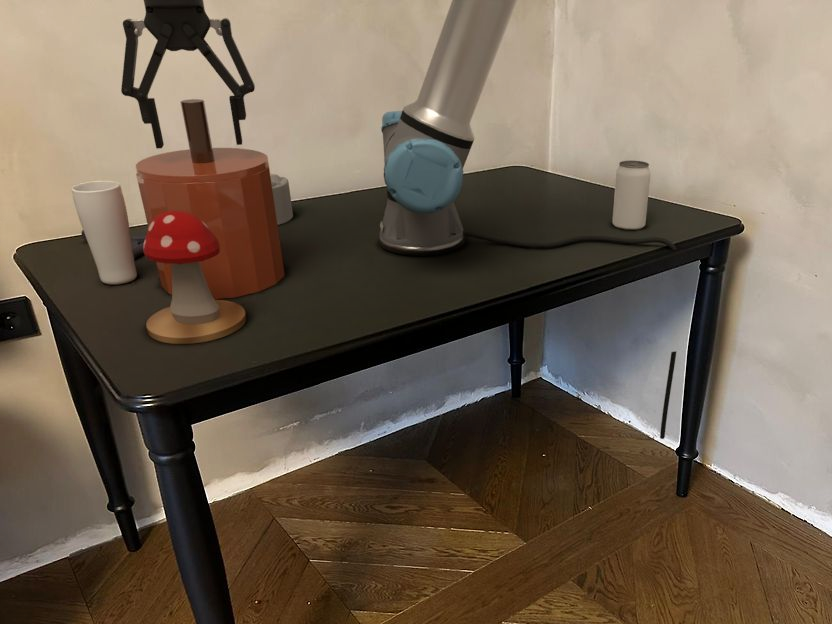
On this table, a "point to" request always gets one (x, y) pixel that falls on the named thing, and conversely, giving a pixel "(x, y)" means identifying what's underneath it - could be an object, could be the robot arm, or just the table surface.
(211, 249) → the decorative mushroom
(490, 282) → the table surface
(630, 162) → the can
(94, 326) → the table surface
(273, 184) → the lumpy-topped squat cylinder
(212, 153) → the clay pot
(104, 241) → the drinking glass
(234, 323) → the round golden metal disc
